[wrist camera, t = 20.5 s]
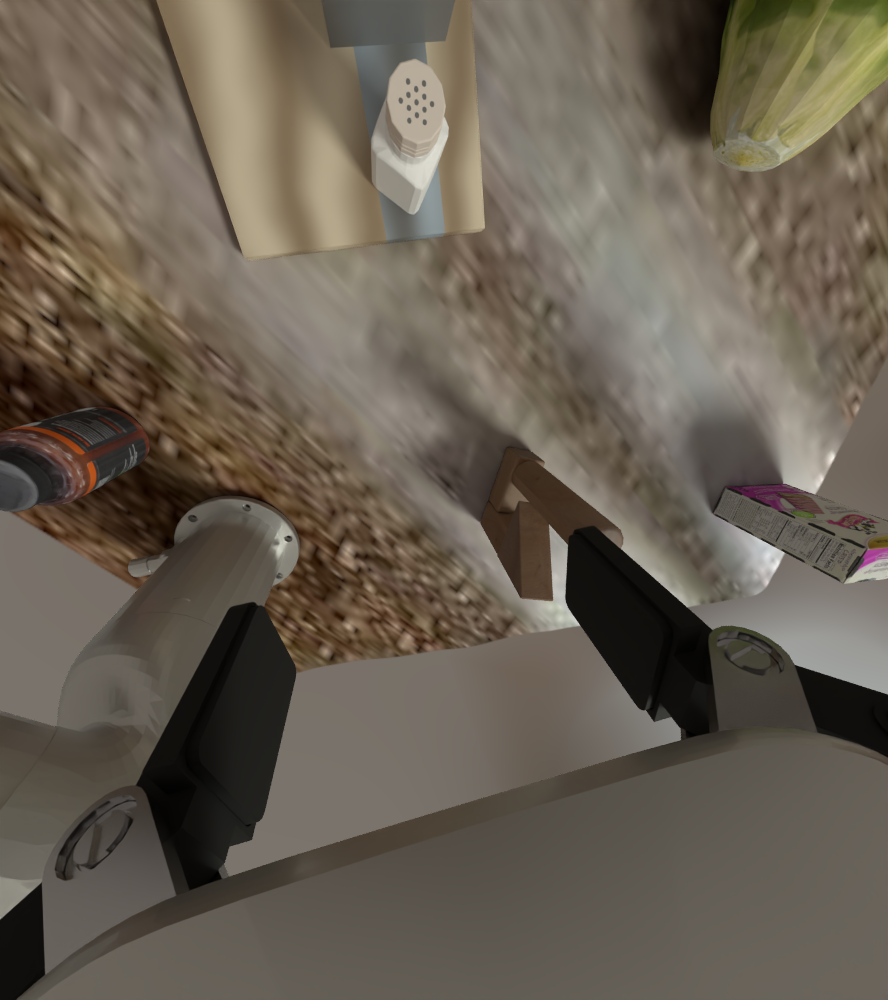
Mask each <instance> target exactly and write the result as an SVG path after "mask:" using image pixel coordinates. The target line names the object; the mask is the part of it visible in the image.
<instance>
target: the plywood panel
mask: <svg viewBox="0 0 888 1000" xmlns="http://www.w3.org/2000/svg"><path fill="white" fill-rule="evenodd" d="M156 1H157V4H158V7H159V10H160V13H161V15H162V18H163V21H164V24H165V27H166V30H167V33H168V36H169V39H170V42H171V45H172V48H173V51H174V54H175V57H176V59H177V62H178V65H179V68H180V71H181V74H182V77H183V80H184V83H185V86H186V89H187V92H188V95H189V98H190V101H191V103H192V106H193V109H194V112H195V115H196V118H197V121H198V124H199V127H200V130H201V133H202V136H203V139H204V142H205V145H206V147H207V150H208V153H209V156H210V159H211V162H212V165H213V168H214V171H215V174H216V177H217V180H218V183H219V186H220V189H221V191H222V194H223V197H224V200H225V203H226V206H227V209H228V212H229V215H230V218H231V221H232V224H233V227H234V230H235V233H236V235H237V238H238V241H239V244H240V247H241V250H242V253H243V256H244V258H245V259H247V260H249V261H251V260H259V259H267V258H275V257H283V256H291V255H299V254H307V253H315V252H323V251H331V250H339V249H347V248H355V247H362V246H370V245H378V244H386V243H394V242H402V241H410V240H418V239H426V238H434V237H442V236H450V235H458V234H466V233H474V232H481V231H482V230H483V229H484V228H485V223H484V206H483V189H482V172H481V156H480V139H479V122H478V105H477V89H476V72H475V55H474V39H473V22H472V5H471V0H455V3H454V7H453V11H452V15H451V19H450V24H449V28H448V32H447V36H446V40H445V41H440V42H423V43H406V44H389V45H372V46H355V47H339V48H330V43H329V38H328V32H327V27H326V22H325V17H324V12H323V6H322V1H321V0H156ZM412 59H417V60H419V61H421V62H423V63H425V64H426V65H428V66H430V67H431V68H432V70H433V71H434V73H435V74H436V76H437V78H438V79H439V81H440V82H441V84H442V88H443V93H444V99H445V105H446V108H445V114H444V117H445V119H446V122H447V124H448V127H449V131H448V138H447V141H446V144H445V146H444V149H443V152H442V154H441V157H440V160H439V163H438V165H437V168H436V171H435V173H434V175H433V178H432V180H431V182H430V185H429V187H428V189H427V192H426V194H425V196H424V199H423V201H422V203H421V205H420V208H419V210H418V211H417V212H416V213H415V214H414V215H413V214H409V213H407V212H406V211H405V210H403V209H402V208H401V207H399V206H398V205H397V204H396V203H394V202H393V201H392V200H390V199H389V198H388V197H387V196H385V195H384V194H383V193H381V192H380V191H379V190H378V189H376V187H375V186H374V184H373V183H372V164H371V138H372V135H373V132H374V129H375V126H376V123H377V120H378V117H379V115H380V112H381V109H382V106H383V104H384V101H385V99H386V96H387V90H388V82H389V78H390V76H391V75H392V73H393V72H394V70H395V69H396V68H397V66H398V65H399V63H401V62H405V61H408V60H412Z"/></svg>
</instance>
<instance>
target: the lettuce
mask: <svg viewBox="0 0 888 1000" xmlns="http://www.w3.org/2000/svg"><path fill="white" fill-rule="evenodd" d="M886 79H888V0H730V5H729V10H728V14H727V19H726V23H725V28H724V33H723V37H722V46H721V57H720V68H719V76H718V81H717V85H716V90H715V95H714V100H713V104H712V109H711V114H710V134H711V140H712V146H713V152H714V156H715V158H716V159H717V160H718V161H719V162H720V163H722V164H724V165H726V166H728V167H730V168H734V169H737V170H741V171H750V172H757V171H766V170H769V169H772V168H775V167H776V166H778V165H780V164H782V163H784V162H785V161H787V160H789V159H791V158H793V157H794V156H796V155H797V154H799V153H800V152H801V151H803V150H804V149H806V148H807V147H808V146H810V145H811V144H813V143H814V142H815V141H816V140H818V139H819V138H820V137H821V136H823V135H824V134H825V133H826V132H827V131H828V130H829V129H831V128H832V127H833V126H834V125H835V124H836V123H837V122H838V121H839V120H840V119H841V118H842V117H843V116H844V115H846V114H847V113H848V112H849V111H850V110H851V109H852V108H853V107H854V106H855V105H856V104H857V103H858V102H860V101H861V100H862V99H863V98H864V97H865V96H866V95H867V94H868V93H870V92H871V91H872V90H873V89H875V88H876V87H877V86H879V85H880V84H881V83H882V82H884V81H885V80H886Z"/></svg>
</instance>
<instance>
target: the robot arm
mask: <svg viewBox="0 0 888 1000" xmlns="http://www.w3.org/2000/svg"><path fill="white" fill-rule="evenodd" d="M247 504H248V505H250V506H248V505H247ZM299 551H300V544H299V538H298V535H297V532H296V530H295V528H294V527H293V525H292V524H291V522H290V521H289V520H288V519H287V518H286V517H285V516H284V515H283V514H282V513H281V512H279V511H278V510H277V509H275V508H274V507H272V506H270V505H268V504H266V503H264V502H261V501H259V500H256V499H253V498H248V497H243V496H220V497H215V498H211V499H208V500H205V501H203V502H201V503H199V504H197V505H195V506H194V507H193V508H192V509H190V510H189V511H188V512H187V513H186V514H185V515H184V516H183V517H182V518H181V520H180V521H179V523H178V525H177V527H176V530H175V535H174V546H173V547H172V548H171V549H167V550H164V551H163V552H162V553H161V554H160V555H156V556H154V555H153V556H148V557H143V558H138V559H133V560H131V561H130V562H129V565H128V571H129V573H130V574H131V575H132V576H134V577H140V576H145V575H150V574H152V575H151V576H150V577H149V578H148V579H147V580H146V581H145V582H144V584H143V585H142V586H141V587H140V588H139V589H138V590H137V591H136V592H135V593H134V594H133V595H132V596H131V598H130V599H129V600H128V601H127V602H126V603H125V604H124V605H123V606H122V608H120V610H119V611H118V612H117V613H116V614H115V615H114V616H113V617H112V618H111V619H110V620H109V621H108V622H107V624H106V625H105V626H104V627H103V628H102V629H101V630H100V631H99V632H98V633H97V634H96V635H95V636H94V637H93V638H92V640H91V641H90V642H89V643H88V644H87V645H86V646H85V647H84V648H83V650H82V651H81V652H80V654H79V655H78V657H77V658H76V659H75V661H74V663H73V665H72V666H71V668H70V670H69V672H68V674H67V677H66V679H65V682H64V685H63V687H62V692H61V696H60V701H59V707H58V719H57V726H55V727H54V726H51V725H47V724H44V723H41V722H37V721H34V720H30V719H27V718H24V717H20V716H17V715H13V714H10V713H7V712H3V711H0V1000H888V695H887V694H884V693H881V692H878V691H875V690H871V689H869V688H865V687H862V686H859V685H856V684H853V683H850V682H847V681H843V680H840V679H837V678H834V677H831V676H828V675H824V674H821V673H818V672H815V671H812V670H809V669H806V668H803V667H799V666H796V665H794V663H793V661H792V660H791V658H790V656H789V655H788V654H787V653H786V652H785V651H784V650H783V649H782V648H781V646H779V645H778V644H776V643H775V642H773V641H772V640H771V639H769V638H767V637H765V636H763V635H761V634H759V633H757V632H755V631H752V630H749V629H746V628H742V627H736V626H721V627H719V628H716V629H714V630H712V629H711V628H709V627H708V626H707V625H706V624H705V623H704V622H703V621H702V620H701V619H700V618H698V617H697V616H696V615H695V614H694V613H693V612H692V611H691V610H689V609H688V608H687V607H686V606H685V605H684V604H683V603H681V602H680V601H679V600H678V599H677V598H676V597H675V596H674V595H672V594H671V593H670V592H669V591H668V590H667V589H666V588H664V587H663V586H662V585H661V584H660V583H659V582H658V581H657V580H655V579H654V578H653V577H652V576H651V575H650V574H649V573H647V572H646V571H645V570H644V569H643V568H642V567H641V566H640V565H638V564H637V563H636V562H635V561H634V560H633V559H632V558H630V557H629V556H628V555H627V554H626V553H625V552H624V551H623V550H621V549H620V548H619V547H618V546H617V545H616V544H615V543H613V542H612V541H611V540H610V539H609V538H608V537H607V536H606V535H604V534H603V533H602V532H601V531H600V530H599V529H598V528H596V527H595V526H588V527H583V528H579V529H575V530H574V531H573V535H570V536H569V539H568V557H567V576H566V595H565V599H566V603H567V606H568V608H569V610H570V611H571V613H572V614H573V616H574V617H575V618H576V620H577V621H578V623H579V624H580V626H581V627H582V628H583V630H584V631H585V633H586V634H587V635H588V637H589V638H590V640H591V641H592V643H593V644H594V646H595V647H596V648H597V650H598V651H599V653H600V654H601V656H602V657H603V658H604V660H605V661H606V663H607V664H608V666H609V667H610V668H611V670H612V671H613V673H614V674H615V676H616V677H617V678H618V680H619V681H620V682H621V684H622V686H623V687H624V688H625V690H626V691H627V693H628V694H629V695H630V697H631V699H632V700H633V701H634V703H635V704H636V705H637V707H638V708H639V709H641V710H646V711H647V712H648V714H649V715H650V717H651V718H652V719H653V721H654V722H655V721H659V720H662V719H666V718H669V717H672V718H673V720H674V721H675V722H676V723H677V725H678V726H679V727H680V728H681V740H680V741H677V742H673V743H669V744H666V745H662V746H658V747H655V748H651V749H647V750H644V751H640V752H637V753H633V754H629V755H626V756H622V757H619V758H616V759H612V760H609V761H605V762H602V763H599V764H595V765H592V766H589V767H585V768H582V769H578V770H575V771H572V772H568V773H565V774H561V775H558V776H555V777H551V778H548V779H545V780H541V781H538V782H535V783H531V784H528V785H525V786H521V787H518V788H515V789H511V790H508V791H505V792H501V793H498V794H495V795H491V796H488V797H485V798H481V799H478V800H475V801H471V802H468V803H465V804H461V805H458V806H455V807H452V808H448V809H445V810H441V811H438V812H435V813H432V814H428V815H425V816H422V817H419V818H415V819H412V820H409V821H405V822H402V823H398V824H396V825H392V826H389V827H385V828H382V829H379V830H376V831H372V832H369V833H366V834H363V835H359V836H357V837H353V838H350V839H347V840H343V841H340V842H337V843H333V844H330V845H327V846H324V847H320V848H317V849H314V850H311V851H307V852H304V853H301V854H298V855H295V856H291V857H288V858H285V859H282V860H279V861H276V862H273V863H270V864H266V865H263V866H260V867H257V868H254V869H251V870H248V871H245V872H242V873H239V874H236V875H233V876H230V877H229V875H228V873H227V870H226V868H225V865H224V863H225V860H226V856H227V853H228V849H229V847H230V846H233V845H236V844H240V843H243V842H247V841H250V840H252V837H253V833H254V829H255V825H256V822H258V821H260V820H261V819H262V817H263V815H264V812H265V808H266V804H267V799H268V795H269V791H270V786H271V782H272V778H273V773H274V769H275V765H276V761H277V756H278V752H279V748H280V743H281V738H282V734H283V730H284V726H285V722H286V717H287V713H288V709H289V704H290V700H291V696H292V691H293V687H294V682H295V678H296V668H295V664H294V662H293V660H292V658H291V657H290V655H289V653H288V651H287V649H286V647H285V645H284V643H283V642H282V640H281V638H280V636H279V634H278V632H277V630H276V628H275V627H274V625H273V623H272V621H271V619H270V617H269V615H268V614H267V612H266V610H265V608H264V605H265V602H266V600H267V597H268V595H269V592H270V590H271V588H272V586H274V585H276V584H278V583H280V582H281V581H282V580H284V579H285V578H286V577H287V576H288V575H289V574H290V573H291V572H292V570H293V569H294V567H295V565H296V563H297V560H298V557H299Z"/></svg>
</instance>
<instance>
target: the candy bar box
mask: <svg viewBox="0 0 888 1000" xmlns="http://www.w3.org/2000/svg"><path fill="white" fill-rule="evenodd" d="M713 515H715V516H717V517H719V518H721V519H723V520H725V521H727V522H729V523H730V524H732V525H734V526H736V527H738V528H740V529H742V530H744V531H746V532H747V533H749V534H751V535H753V536H755V537H757V538H759V539H761V540H762V541H764V542H766V543H768V544H770V545H772V546H774V547H776V548H777V549H779V550H781V551H783V552H785V553H787V554H789V555H791V556H793V557H794V558H796V559H798V560H800V561H802V562H804V563H806V564H808V565H810V566H812V567H814V568H815V569H818V570H820V571H821V572H823V573H825V574H827V575H829V576H831V577H832V578H834V579H836V580H838V581H840V582H841V583H843V584H845V583H853V582H862V581H871V580H881V579H888V521H887V520H884V519H881V518H878V517H875V516H873V515H870V514H867V513H864V512H862V511H858V510H855V509H852V508H850V507H847V506H845V505H842V504H839V503H836V502H833V501H831V500H828V499H825V498H822V497H820V496H817V495H814V494H812V493H809V492H806V491H803V490H800V489H798V488H795V487H792V486H790V485H787V484H774V485H757V486H739V487H725V488H724V490H723V492H722V494H721V497H720V499H719V502H718V504H717V506H716V508H715V511H714V513H713Z"/></svg>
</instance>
